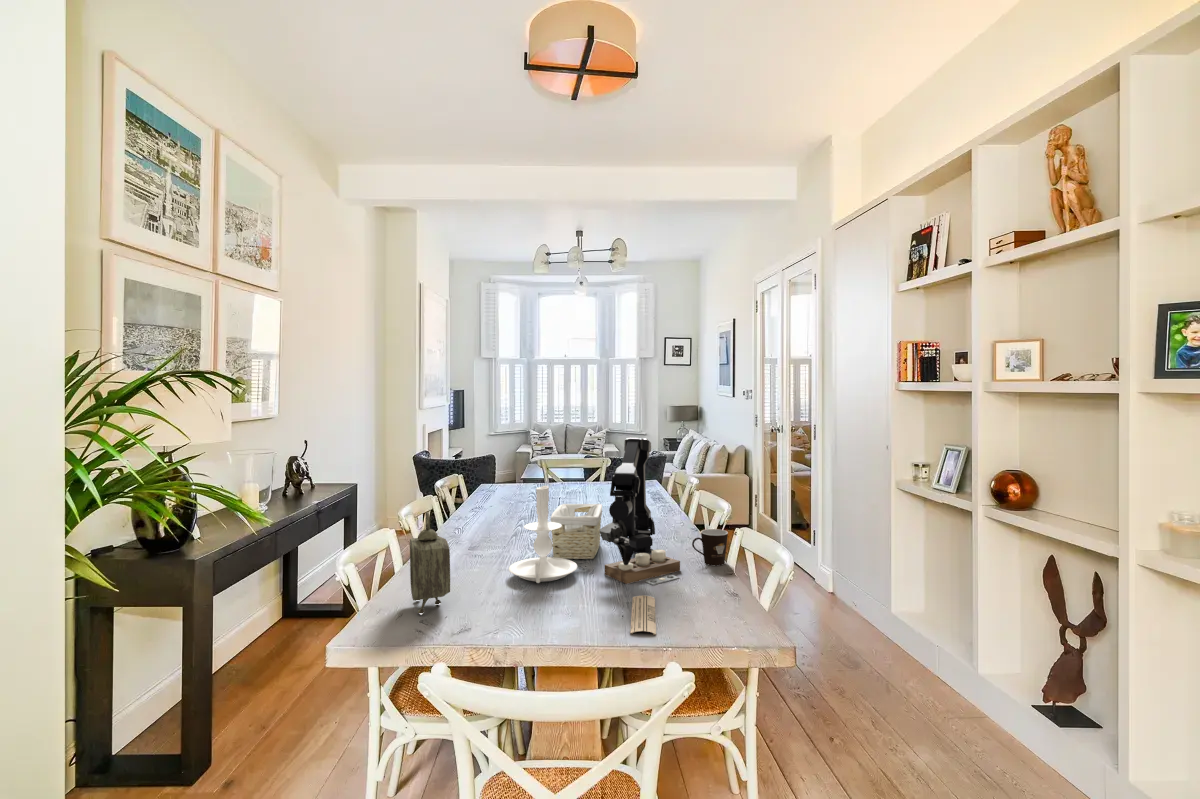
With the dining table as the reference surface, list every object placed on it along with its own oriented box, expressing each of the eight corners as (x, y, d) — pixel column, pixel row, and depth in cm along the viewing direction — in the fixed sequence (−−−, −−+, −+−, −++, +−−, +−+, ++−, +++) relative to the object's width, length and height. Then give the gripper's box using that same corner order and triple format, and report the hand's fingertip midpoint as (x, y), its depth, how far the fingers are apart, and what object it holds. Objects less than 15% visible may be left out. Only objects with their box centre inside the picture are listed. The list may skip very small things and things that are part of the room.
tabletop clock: (410, 600, 164) (409, 508, 163) (444, 595, 167) (443, 505, 166) (414, 619, 150) (412, 519, 150) (451, 614, 153) (449, 516, 153)
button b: (632, 565, 187) (632, 554, 186) (643, 562, 189) (643, 552, 189) (641, 568, 183) (641, 557, 183) (652, 565, 186) (652, 555, 185)
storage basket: (560, 542, 224) (559, 502, 223) (603, 542, 222) (603, 502, 222) (549, 560, 200) (549, 516, 199) (598, 561, 198) (598, 517, 198)
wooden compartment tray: (604, 574, 184) (604, 564, 184) (656, 562, 197) (656, 553, 197) (626, 584, 176) (626, 573, 175) (680, 570, 188) (680, 561, 188)
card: (644, 582, 177) (644, 580, 177) (671, 575, 183) (671, 574, 183) (652, 585, 174) (652, 583, 174) (679, 578, 180) (679, 577, 180)
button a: (615, 574, 183) (615, 564, 183) (627, 572, 185) (627, 561, 185) (624, 578, 179) (624, 567, 179) (636, 575, 182) (636, 564, 182)
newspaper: (632, 601, 163) (632, 595, 163) (658, 602, 163) (658, 595, 163) (630, 638, 140) (630, 630, 140) (660, 638, 139) (660, 631, 139)
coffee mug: (726, 559, 200) (726, 529, 199) (729, 567, 191) (729, 535, 191) (690, 558, 201) (690, 528, 201) (692, 566, 192) (692, 535, 192)
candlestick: (499, 593, 168) (498, 493, 168) (515, 566, 193) (514, 479, 193) (573, 594, 168) (572, 493, 167) (579, 567, 192) (578, 479, 192)
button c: (648, 561, 190) (648, 551, 190) (659, 559, 193) (659, 548, 193) (657, 564, 187) (657, 554, 187) (668, 562, 189) (668, 551, 189)
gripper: (586, 511, 185) (586, 562, 185) (623, 522, 170) (623, 577, 170) (615, 506, 191) (615, 555, 192) (653, 517, 176) (653, 570, 176)
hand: (626, 564), depth 182 cm, fingers closed, pressing on button a
